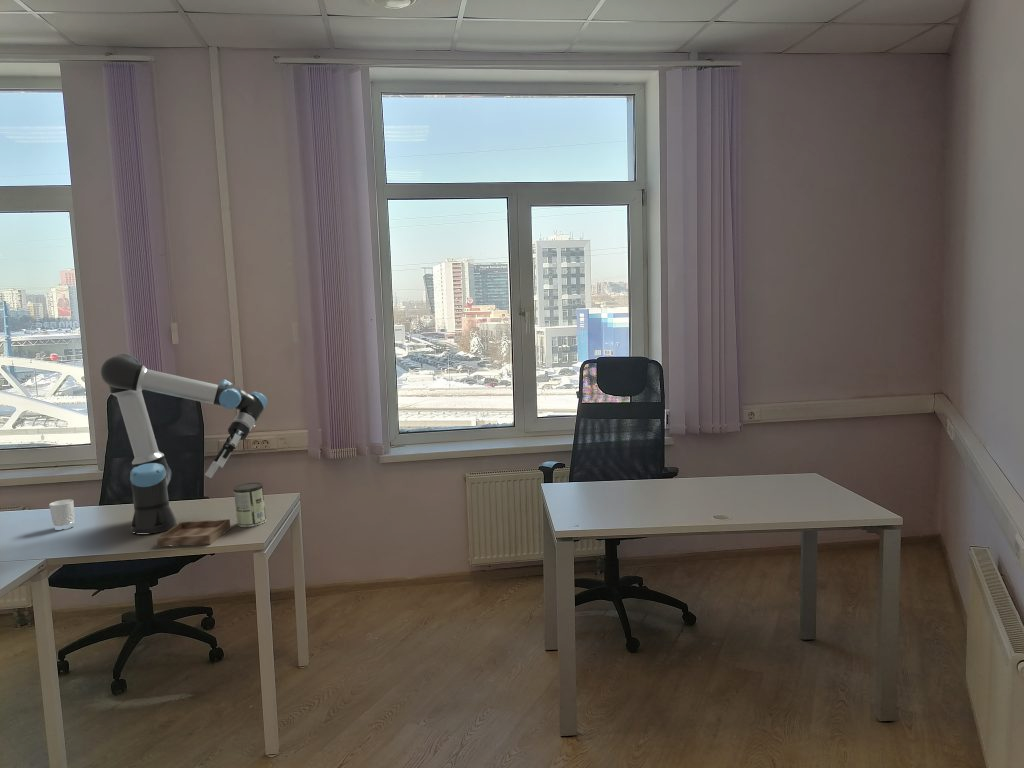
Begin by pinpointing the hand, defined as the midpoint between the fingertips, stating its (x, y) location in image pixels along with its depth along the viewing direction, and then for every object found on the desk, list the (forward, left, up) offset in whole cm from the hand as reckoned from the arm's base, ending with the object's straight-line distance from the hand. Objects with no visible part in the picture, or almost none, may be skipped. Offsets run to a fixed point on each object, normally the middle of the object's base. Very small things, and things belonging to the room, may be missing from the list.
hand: (213, 471), depth 281 cm
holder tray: (-1, -17, -20) cm, 26 cm away
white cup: (-60, +3, -20) cm, 64 cm away
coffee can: (+14, -3, -20) cm, 24 cm away
